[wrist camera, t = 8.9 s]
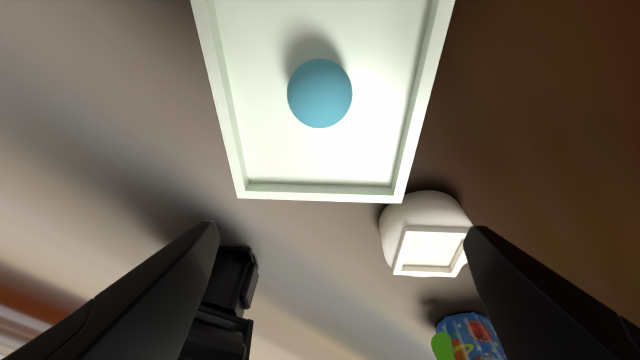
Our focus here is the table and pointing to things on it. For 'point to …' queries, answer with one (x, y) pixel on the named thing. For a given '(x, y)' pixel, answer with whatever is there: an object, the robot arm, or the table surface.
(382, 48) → the tray
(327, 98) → the ball
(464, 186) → the table surface
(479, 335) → the snack cup
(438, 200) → the cup
